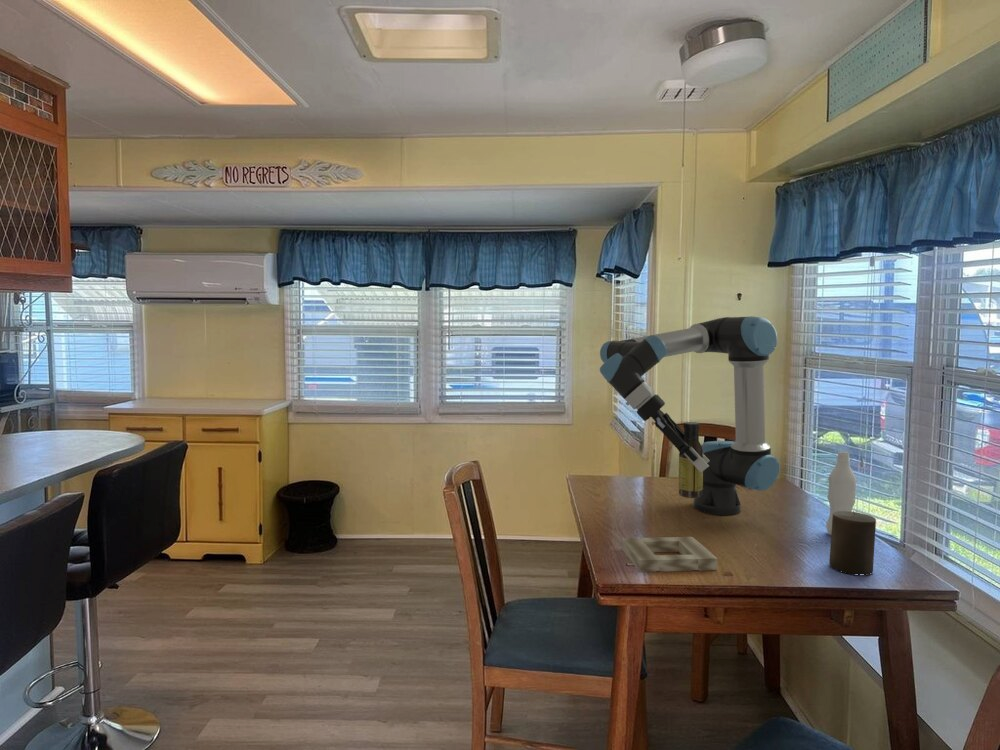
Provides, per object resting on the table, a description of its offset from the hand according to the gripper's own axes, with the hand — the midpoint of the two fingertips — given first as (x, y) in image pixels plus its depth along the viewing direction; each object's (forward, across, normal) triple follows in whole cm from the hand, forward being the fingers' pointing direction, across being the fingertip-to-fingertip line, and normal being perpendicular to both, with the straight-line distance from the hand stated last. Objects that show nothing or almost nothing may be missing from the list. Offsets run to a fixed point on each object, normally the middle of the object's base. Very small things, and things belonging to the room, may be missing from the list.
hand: (705, 466), depth 162 cm
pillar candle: (+43, -4, +9) cm, 44 cm away
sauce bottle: (+4, 0, -9) cm, 9 cm away
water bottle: (+43, -31, +10) cm, 55 cm away
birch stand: (+11, +7, -23) cm, 27 cm away
